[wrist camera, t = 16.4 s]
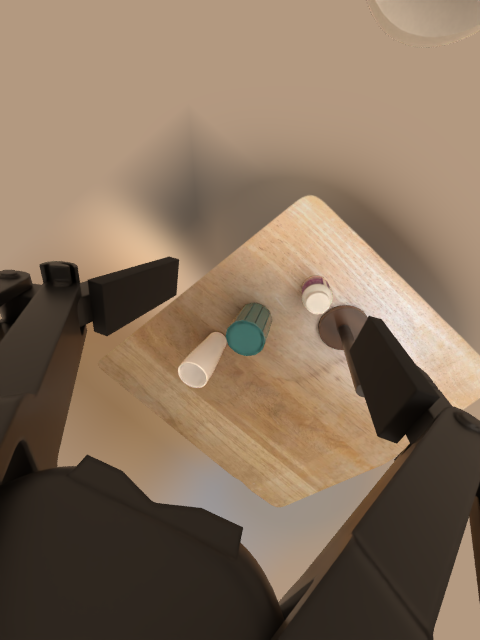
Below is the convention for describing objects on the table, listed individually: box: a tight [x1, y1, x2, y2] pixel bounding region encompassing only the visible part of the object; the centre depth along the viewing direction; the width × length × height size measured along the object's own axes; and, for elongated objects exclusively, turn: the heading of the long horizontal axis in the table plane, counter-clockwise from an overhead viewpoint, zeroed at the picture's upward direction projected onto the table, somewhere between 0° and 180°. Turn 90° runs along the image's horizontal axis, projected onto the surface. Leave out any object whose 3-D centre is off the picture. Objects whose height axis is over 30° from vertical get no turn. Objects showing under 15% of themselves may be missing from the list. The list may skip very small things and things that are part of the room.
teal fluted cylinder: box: [226, 303, 272, 356], centre depth 48 cm, size 8×8×10 cm
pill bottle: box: [302, 276, 333, 314], centre depth 41 cm, size 5×5×10 cm
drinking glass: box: [178, 332, 227, 388], centre depth 51 cm, size 7×7×15 cm
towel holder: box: [319, 305, 368, 397], centre depth 38 cm, size 10×10×20 cm
